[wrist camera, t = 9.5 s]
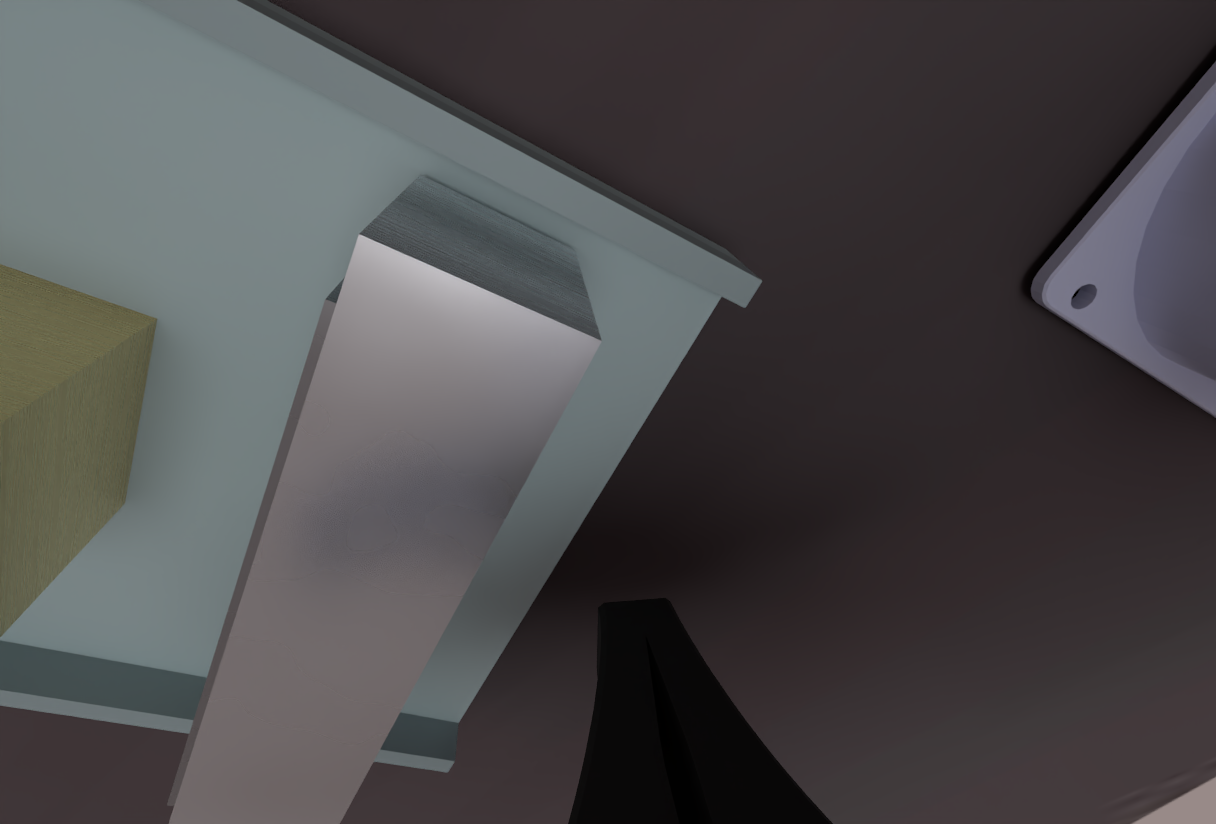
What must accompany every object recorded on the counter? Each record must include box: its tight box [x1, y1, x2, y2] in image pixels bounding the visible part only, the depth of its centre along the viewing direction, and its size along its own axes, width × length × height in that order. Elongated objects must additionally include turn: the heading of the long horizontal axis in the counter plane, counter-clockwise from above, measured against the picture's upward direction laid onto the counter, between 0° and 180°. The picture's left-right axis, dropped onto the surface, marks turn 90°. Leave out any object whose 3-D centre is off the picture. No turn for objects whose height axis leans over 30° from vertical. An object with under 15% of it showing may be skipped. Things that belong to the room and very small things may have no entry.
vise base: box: [0, 0, 762, 772], centre depth 10 cm, size 15×14×2 cm
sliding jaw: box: [167, 174, 602, 824], centre depth 10 cm, size 3×12×4 cm, turn 152°
